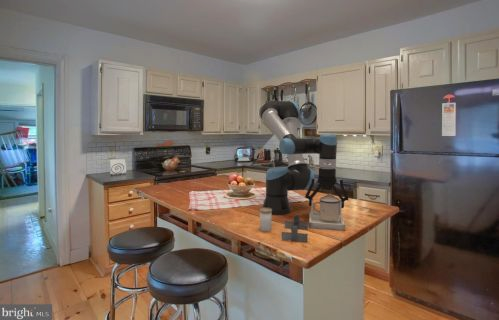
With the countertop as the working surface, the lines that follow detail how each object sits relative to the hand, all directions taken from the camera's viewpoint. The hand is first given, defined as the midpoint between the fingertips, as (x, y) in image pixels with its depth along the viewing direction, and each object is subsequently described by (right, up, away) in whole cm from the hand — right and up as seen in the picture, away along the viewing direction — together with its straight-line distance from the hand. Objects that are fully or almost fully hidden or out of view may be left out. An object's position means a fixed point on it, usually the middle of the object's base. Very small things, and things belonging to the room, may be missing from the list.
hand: (325, 213), depth 130 cm
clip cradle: (-17, -6, -14) cm, 23 cm away
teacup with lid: (0, -2, 0) cm, 2 cm away
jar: (-29, -5, -9) cm, 30 cm away
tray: (0, -4, 0) cm, 4 cm away
